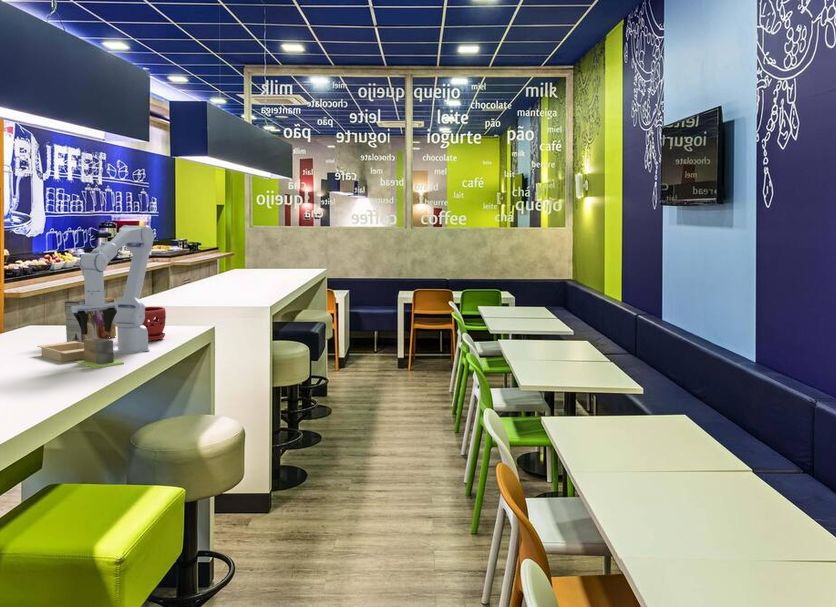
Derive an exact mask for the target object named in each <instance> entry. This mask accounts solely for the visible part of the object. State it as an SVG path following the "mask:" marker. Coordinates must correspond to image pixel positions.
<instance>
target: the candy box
mask: <svg viewBox="0 0 836 607" xmlns="http://www.w3.org/2000/svg"><path fill="white" fill-rule="evenodd" d="M104 298H105V303H111V302H115V299H114V297H104ZM96 309H97V308H96ZM96 326H97V338H101V339H104V338H107V339H110V338H109V337H114V338H116V337H117V329H116V328H117V327H115V324H114V323H113V322H112V325H111V329H110V332H107V331H105V328H104V317H103V312H102V310H96ZM115 336H116V337H115Z"/></svg>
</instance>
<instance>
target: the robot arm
mask: <svg viewBox="0 0 836 607" xmlns="http://www.w3.org/2000/svg"><path fill="white" fill-rule="evenodd" d="M154 238H155V233H154V231H153V229H152V228H151V226H150V225H127V224H124V225H122V226H121V227H120V228H119V229H118V233H117V234H116V235H115V236H114V237H113V238H111V240H110V241H103V240H102V241H101V242H100V244H99V245H98V246H97V247H96V248H93V249H92V251H91V252H85V253H84V254H83V255H81V256H80V259H79V262H78V266H79V268H80V270H81V275H82V277H83V283H84V286H83V287H84V299H85V304H84V305H78V306H71V310H72V312H73V314H74V316H75V318H76V319H77V321H78V323H79V325H80V328H81V331H82V334H84V335H87V333H88V328H87V321H88V315H89V314H87V313H86V312H85V311H95V310H102V312H103V317H104V328H105V331H107V332H110V329H111V325H112V322H113V323H114V324H115V327H116V328H117V329H116V333H117V349H113V353H114V352H116V353H119V354H124V355H125V354H133V353H144V352H150V349H149V341H148V331H147V328H146V327H145V326H144V325H142V324H143V322H144V320H145V307H146V306H145V304H144V303H143V302H142V301H141V300H140V299H141V296H142V294H141V293H142V289H143V286H144V280H145V276H146V272H147V266H148V261H149V258H150V252H152V249H153V244H154ZM124 246H125V248H126V250H128V252H130V253H131V254H132V257H131V262H130V266H129V269H128V270H129V271H128V275H127V278H126V284H125V287H124V292H123V297H121V298H120V299H118V300H117V301H114V302H111V303H105V298H106V297H105V280H104V279H105V278H104V271H106V269H107V267H108V264H109V262H110V261H111V260H113V259H114V258H115V257H117V255H118V250H120V249H122V247H124ZM91 308H97V309H91Z"/></svg>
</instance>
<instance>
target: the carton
mask: <svg viewBox="0 0 836 607" xmlns="http://www.w3.org/2000/svg"><path fill="white" fill-rule="evenodd" d="M37 348H39V349H41V350H40V351H41V357H42V358H46V359H48V360H49V359H50V360H53V361H57V362H60V363H61V362H62V363H63V362H68V361H77V360H81V359H82V360H84V343H81V342H77V341H72V342H67V341H66V342H65V341H64V342H57V343H50V344H48V343H47V344H42V345H37Z"/></svg>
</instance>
